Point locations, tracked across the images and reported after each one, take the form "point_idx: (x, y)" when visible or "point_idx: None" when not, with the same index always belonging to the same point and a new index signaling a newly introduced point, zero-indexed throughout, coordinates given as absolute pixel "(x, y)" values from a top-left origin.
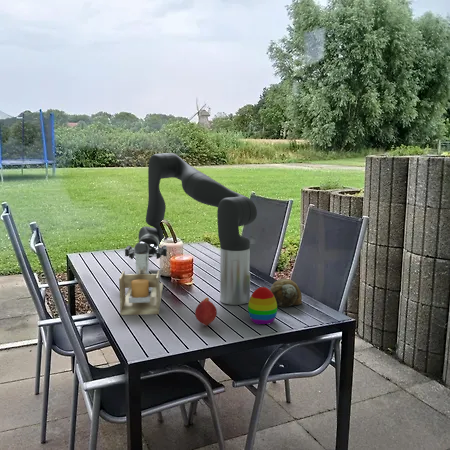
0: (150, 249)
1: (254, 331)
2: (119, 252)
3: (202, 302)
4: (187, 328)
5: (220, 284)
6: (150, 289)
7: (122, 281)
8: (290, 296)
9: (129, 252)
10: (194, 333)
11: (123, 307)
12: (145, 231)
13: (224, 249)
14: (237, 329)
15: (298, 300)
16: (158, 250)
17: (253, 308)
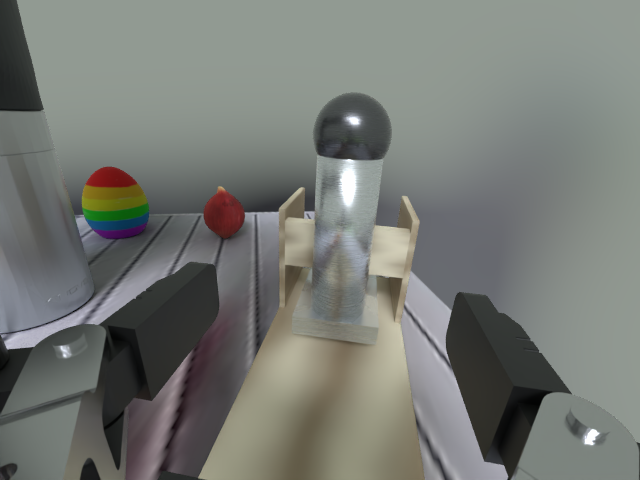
0: (170, 477)
1: (170, 220)
2: None
3: (230, 194)
4: (261, 237)
5: (67, 253)
6: (310, 278)
7: (402, 221)
8: None
9: (540, 355)
10: (258, 228)
11: (388, 288)
12: None
13: (42, 109)
14: (187, 226)
15: None
16: (123, 319)
17: (146, 199)
